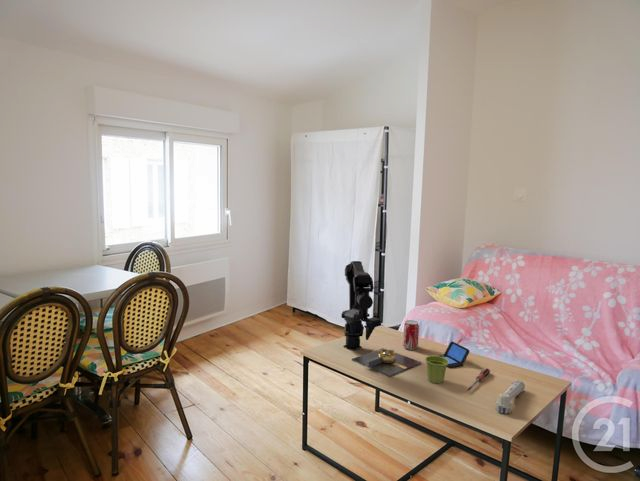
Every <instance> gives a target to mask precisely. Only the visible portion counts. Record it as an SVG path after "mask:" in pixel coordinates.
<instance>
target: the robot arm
mask: <svg viewBox="0 0 640 481" xmlns="http://www.w3.org/2000/svg"><path fill="white" fill-rule="evenodd" d="M344 276H345V281H347V283H348V290H349V291H348V292H349V293H348V295H349V296H348V297H349V298H348V299H349V300H348V301H349V302H348V307H349V309H347V310H343V311H342V313H341V318H342V319H344V321H345V323H344V327H343V334H344V337H345V344H344V345H343V347H344V348H346V349H348V350H351V351H355V350H358V349H361V348H362V346H361V339H360V338H361V337H363V336H364V329H365V341H368V340H369V339H370V337H371V335H372V333H373V331H374V330H375V328H377V327H381V326H382V320H381V318H378V317H374V316H373V317H370V314H369V313H368V312H369V309H370V308H372V307H373V303H374V301H373V298H372V297H371V296H370V293H374V288H375V286H374V280H373V278H372V276H371V275H370V274H369V273H368V272H366V271H365V269H364V265H363V261H359V260H353V261H350V263H348V264H347V265H345V268H344ZM363 322H364V323H365V325H364V324H363Z"/></svg>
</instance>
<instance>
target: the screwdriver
mask: <svg viewBox="0 0 640 481" xmlns="http://www.w3.org/2000/svg"><path fill="white" fill-rule="evenodd" d="M490 373H491V371H490V369H489V368H484V369H483V370H481V371H480V372H479V374H478V375H476V377H475V381H474V382H473V383H472V384H471V385H470V386H469V387H468V388H467V389H466V391H467V392H469V391H470V390H471V389H473V387H474V386H476V385H477V383H482V382H483V380H485V379H486V378H487V377H488V376H489V375H490Z"/></svg>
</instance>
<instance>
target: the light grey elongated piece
mask: <svg viewBox="0 0 640 481" xmlns="http://www.w3.org/2000/svg"><path fill="white" fill-rule="evenodd" d="M525 386H526V385H525V383H524V382H523V381H522V380H516V381H514V382H512V383H511V385H510V386H509V387H508V389H506V391H505V392H503V393H499V395H498V399H497V400H496V401H495V405H496V407H495V410H496V411H497V412H498V413H501V414H506V415H507V414H511V410H512V408H513V403H511V401H512V400H513V399H514V398H515V397H517V396H518V395H520V394H521V393H523V392H524V390H525ZM519 393H520V394H519Z"/></svg>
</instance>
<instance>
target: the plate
mask: <svg viewBox="0 0 640 481" xmlns="http://www.w3.org/2000/svg"><path fill="white" fill-rule="evenodd" d="M382 349H386V351H390V350H391V349H387V348H384V347H383V348H379V349H376V350H373V351H370V352H367V353H365V354H362V355H359V356H357V357H353V358H351V361H353V362H355V363H357V364H359V365H362V366H363V367H366V366H365V363H366V361H367V360H369V359H372V358H375V357H378V350H381V351H382ZM395 353H396V361H395V362H393V363H383V362H382V363H379V364H377V365H374V366H371V367H369V369H371V370H373V371H376V372H378V373H380V374H383V375H384V376H387V377H393V376H395V375H398V374H401V373H403V372H404V371H407V370H410V369H412V368H414V367H416V366H419V365H421V364H422V363H423V362H421V361H419V360H417V359H414V358H410V357H408V356H405V355H403V354H400V353H399V352H395ZM394 363H397V364H400V365H402V366H405V367H407V368H405V369H403V368H401V367H398V366H396V365H393V364H394Z"/></svg>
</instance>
